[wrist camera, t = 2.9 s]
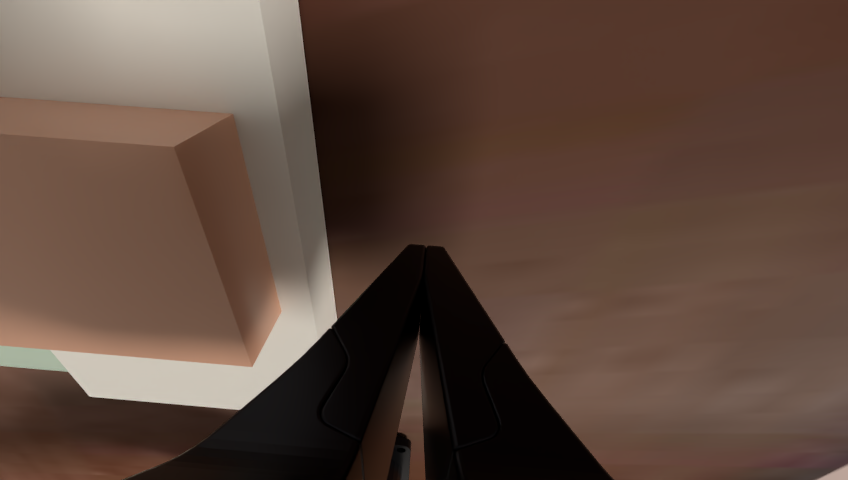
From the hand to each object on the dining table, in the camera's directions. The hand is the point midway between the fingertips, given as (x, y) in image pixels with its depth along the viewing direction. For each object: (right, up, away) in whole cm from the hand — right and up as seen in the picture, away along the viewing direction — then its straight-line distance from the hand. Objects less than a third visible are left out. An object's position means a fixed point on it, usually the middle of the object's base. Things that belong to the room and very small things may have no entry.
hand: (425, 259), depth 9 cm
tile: (-8, +1, +1) cm, 8 cm away
